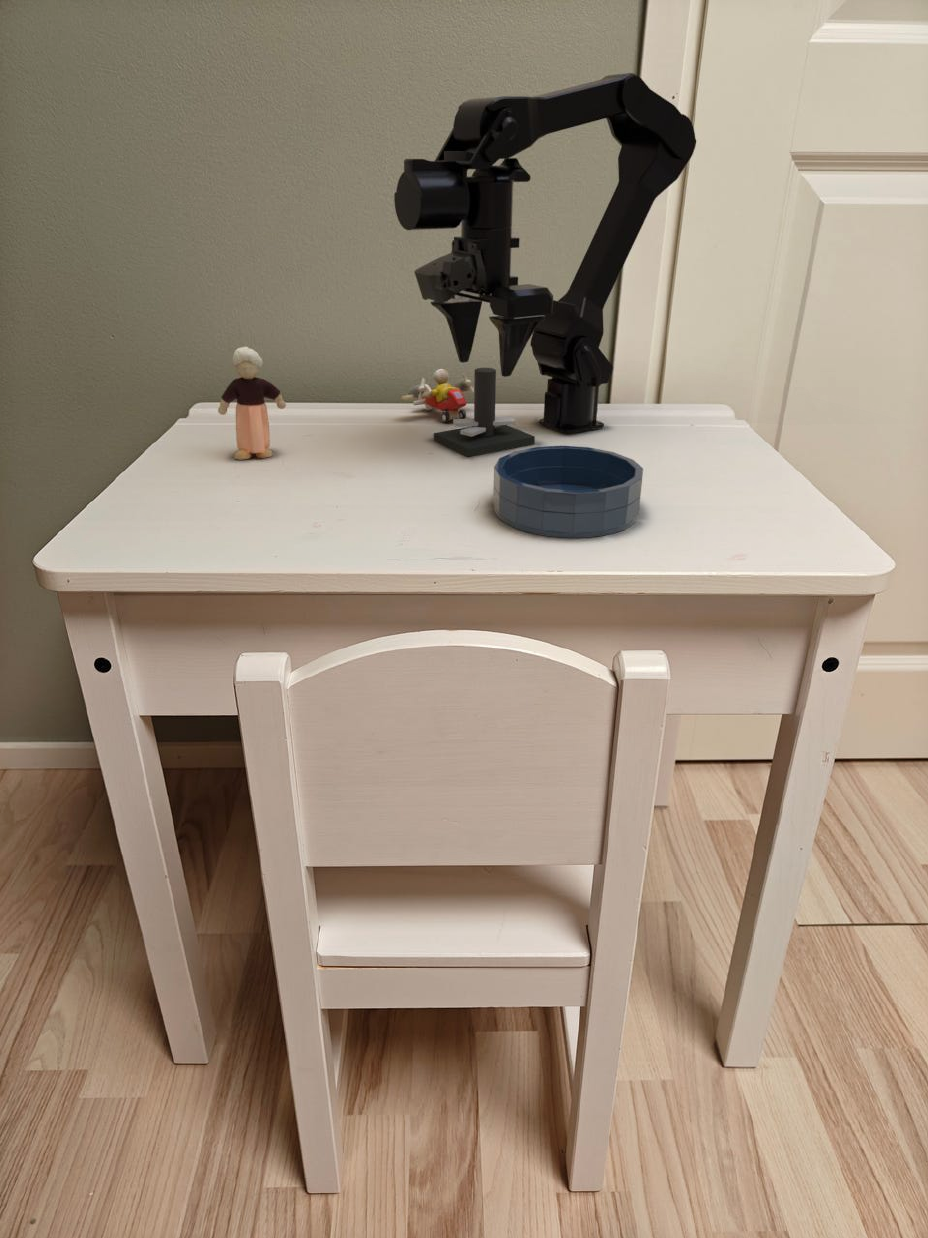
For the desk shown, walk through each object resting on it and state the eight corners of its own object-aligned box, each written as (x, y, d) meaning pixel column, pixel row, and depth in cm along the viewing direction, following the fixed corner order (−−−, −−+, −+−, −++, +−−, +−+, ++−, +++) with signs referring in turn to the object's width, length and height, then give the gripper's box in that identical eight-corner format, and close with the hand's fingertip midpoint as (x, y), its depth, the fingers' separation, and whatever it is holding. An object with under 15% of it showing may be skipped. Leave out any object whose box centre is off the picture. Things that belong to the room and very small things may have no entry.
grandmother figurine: (230, 464, 100) (216, 352, 94) (222, 455, 103) (208, 346, 97) (294, 455, 104) (284, 346, 98) (284, 446, 107) (274, 340, 101)
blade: (498, 425, 112) (500, 362, 108) (520, 434, 108) (522, 369, 104) (448, 434, 108) (447, 369, 104) (468, 444, 104) (469, 377, 101)
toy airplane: (464, 425, 115) (464, 377, 112) (399, 421, 117) (397, 373, 114) (478, 408, 123) (479, 362, 120) (417, 404, 125) (416, 359, 122)
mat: (498, 428, 114) (498, 421, 113) (534, 443, 108) (535, 436, 107) (433, 440, 109) (433, 432, 109) (467, 457, 103) (467, 448, 103)
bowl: (576, 477, 97) (578, 438, 95) (669, 518, 86) (674, 475, 84) (467, 501, 90) (467, 460, 88) (553, 549, 79) (555, 503, 77)
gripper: (384, 224, 100) (388, 362, 107) (471, 236, 86) (470, 393, 93) (465, 221, 105) (464, 353, 112) (559, 232, 91) (551, 380, 99)
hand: (484, 368), depth 104 cm, fingers open, 9 cm apart
